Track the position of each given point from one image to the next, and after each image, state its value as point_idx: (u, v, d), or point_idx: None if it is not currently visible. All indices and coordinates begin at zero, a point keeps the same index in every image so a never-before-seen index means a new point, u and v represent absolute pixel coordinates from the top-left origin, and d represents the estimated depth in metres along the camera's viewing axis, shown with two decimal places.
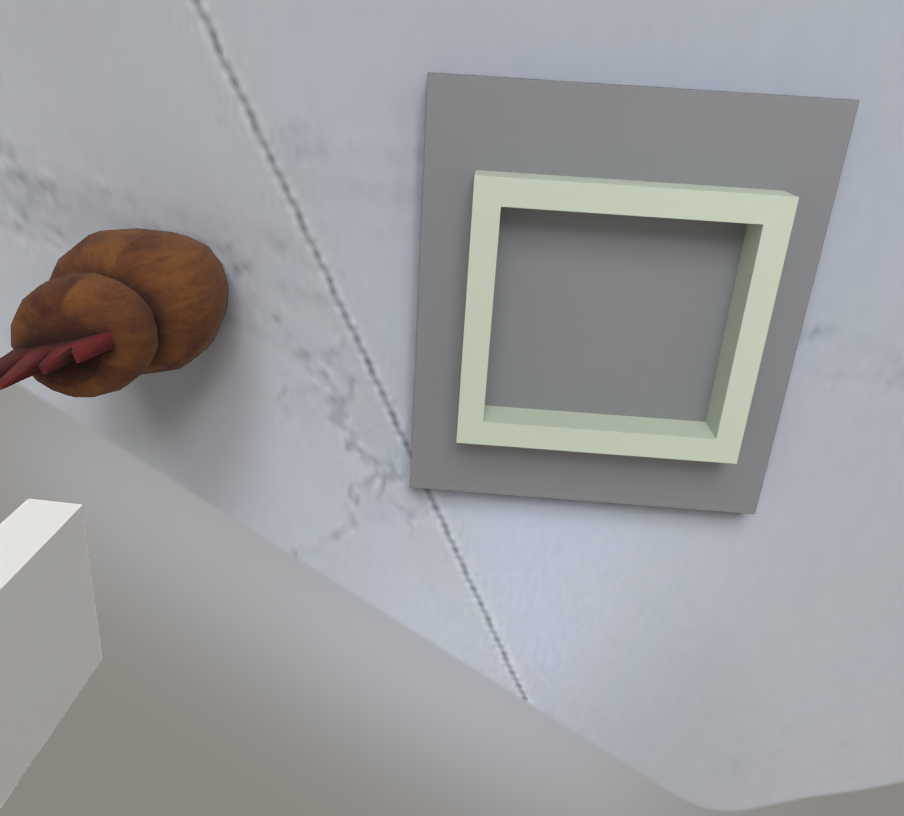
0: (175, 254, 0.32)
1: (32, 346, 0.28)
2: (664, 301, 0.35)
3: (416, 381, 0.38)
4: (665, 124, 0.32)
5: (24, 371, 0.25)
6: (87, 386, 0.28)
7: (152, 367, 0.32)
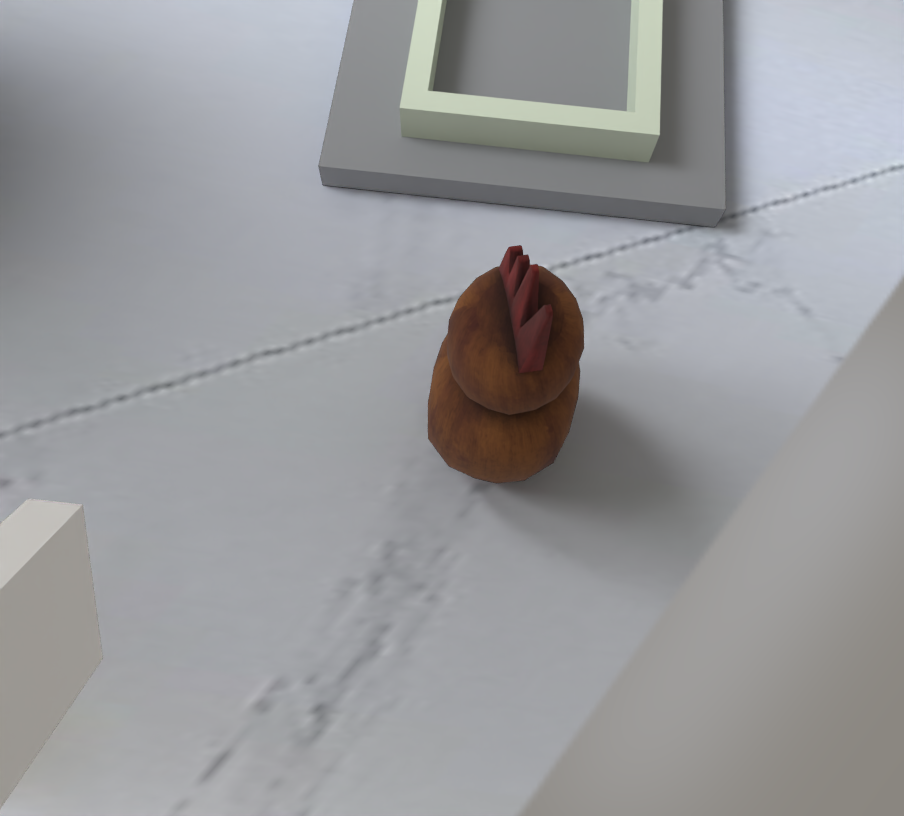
0: None
1: (515, 344, 0.24)
2: (521, 10, 0.41)
3: (602, 195, 0.37)
4: (378, 13, 0.41)
5: None
6: (564, 301, 0.24)
7: None
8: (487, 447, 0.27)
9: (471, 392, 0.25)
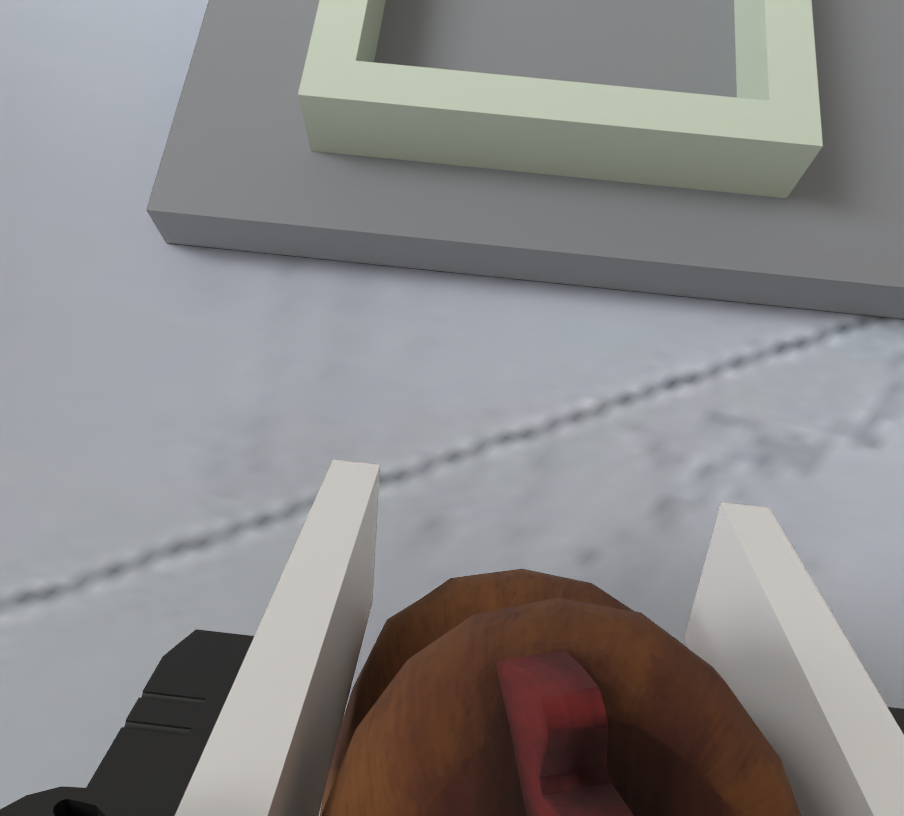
0: (375, 644, 0.12)
1: None
2: None
3: (701, 263, 0.19)
4: None
5: None
6: None
7: None
8: None
9: None
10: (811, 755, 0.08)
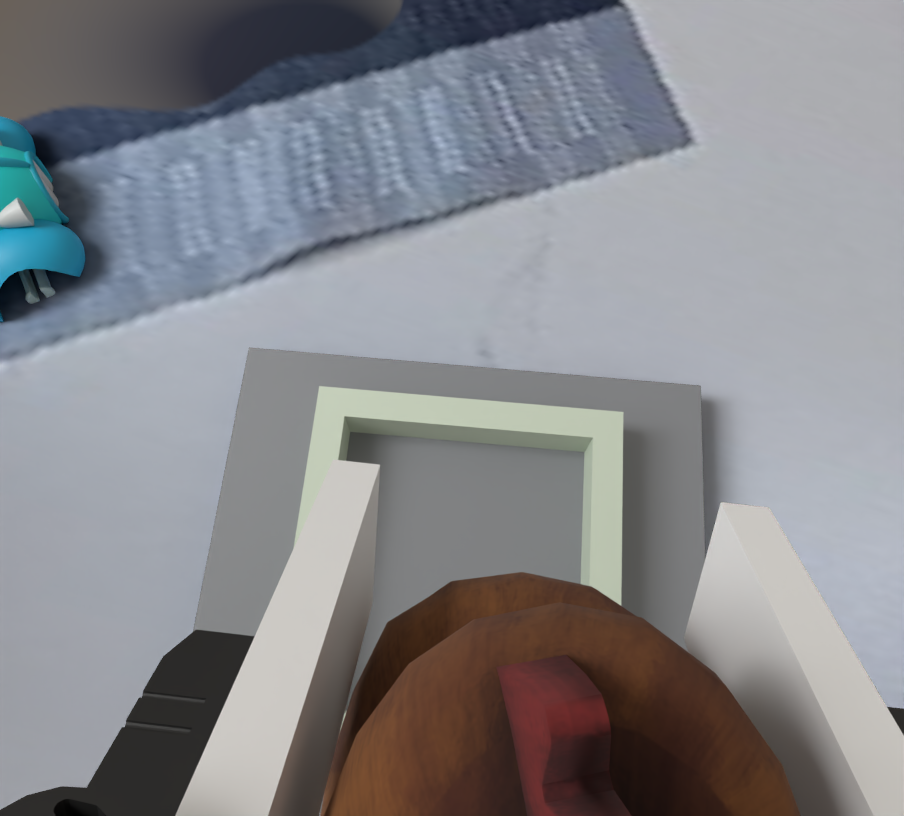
0: (375, 646, 0.12)
1: None
2: (439, 509, 0.31)
3: None
4: (249, 523, 0.31)
5: None
6: None
7: None
8: None
9: None
10: (811, 755, 0.08)
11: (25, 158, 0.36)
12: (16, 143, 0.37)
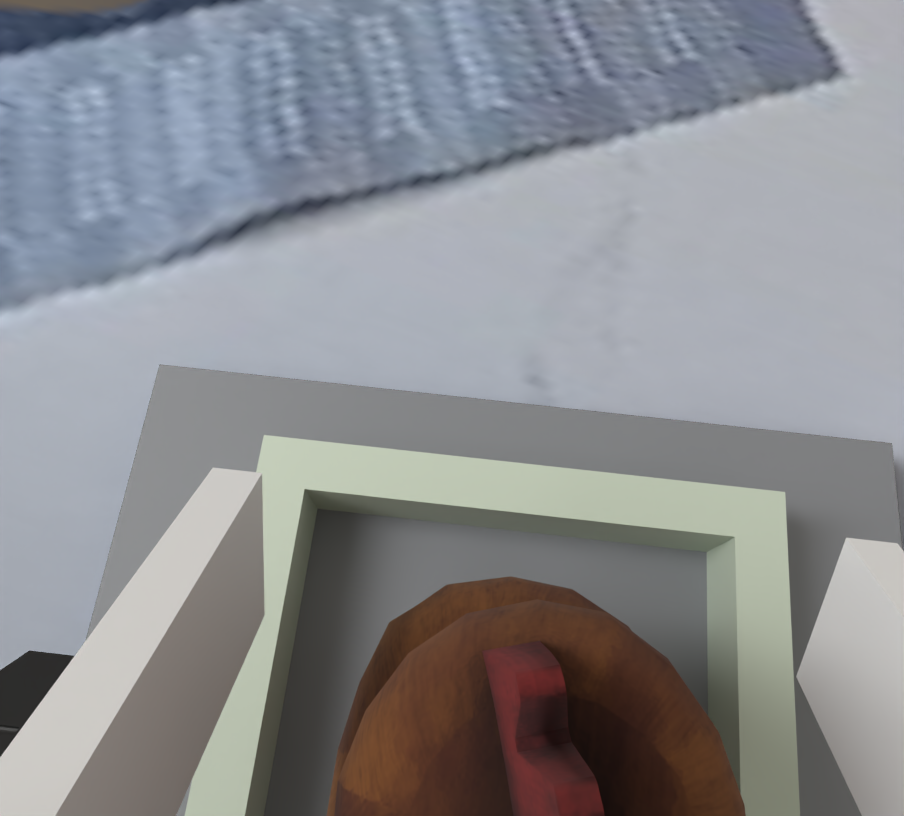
0: (379, 644, 0.14)
1: None
2: None
3: None
4: None
5: None
6: (696, 783, 0.07)
7: None
8: None
9: None
10: None
11: None
12: None
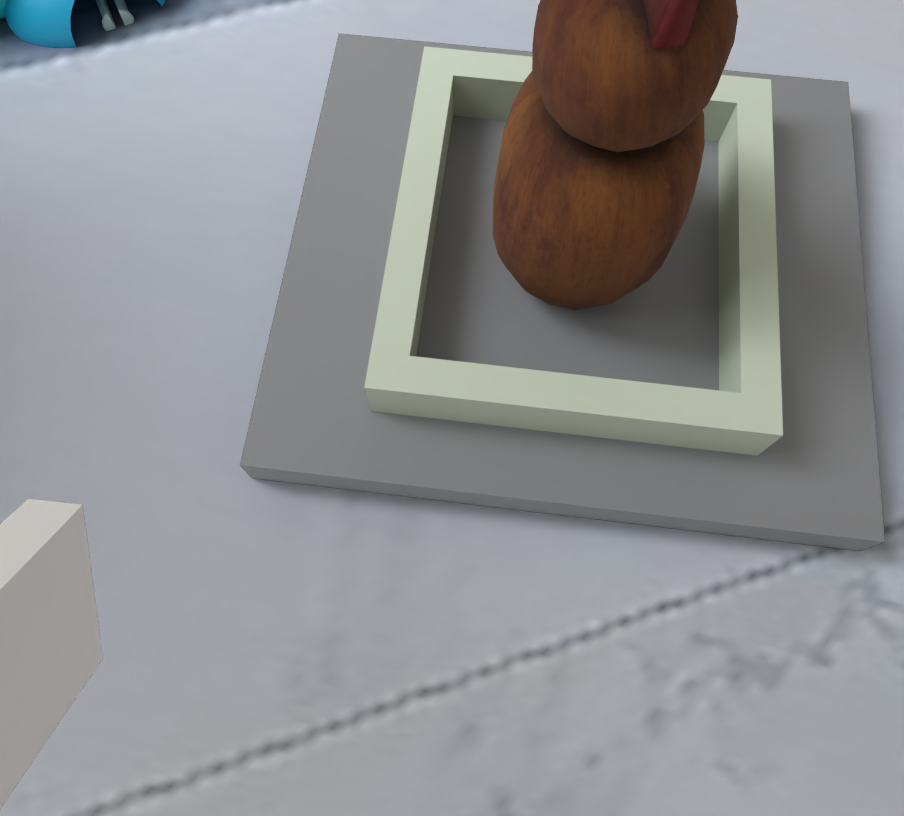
0: None
1: (644, 8, 0.16)
2: None
3: (686, 515, 0.24)
4: (340, 200, 0.28)
5: None
6: None
7: None
8: (584, 213, 0.20)
9: (572, 104, 0.17)
10: None
11: None
12: None
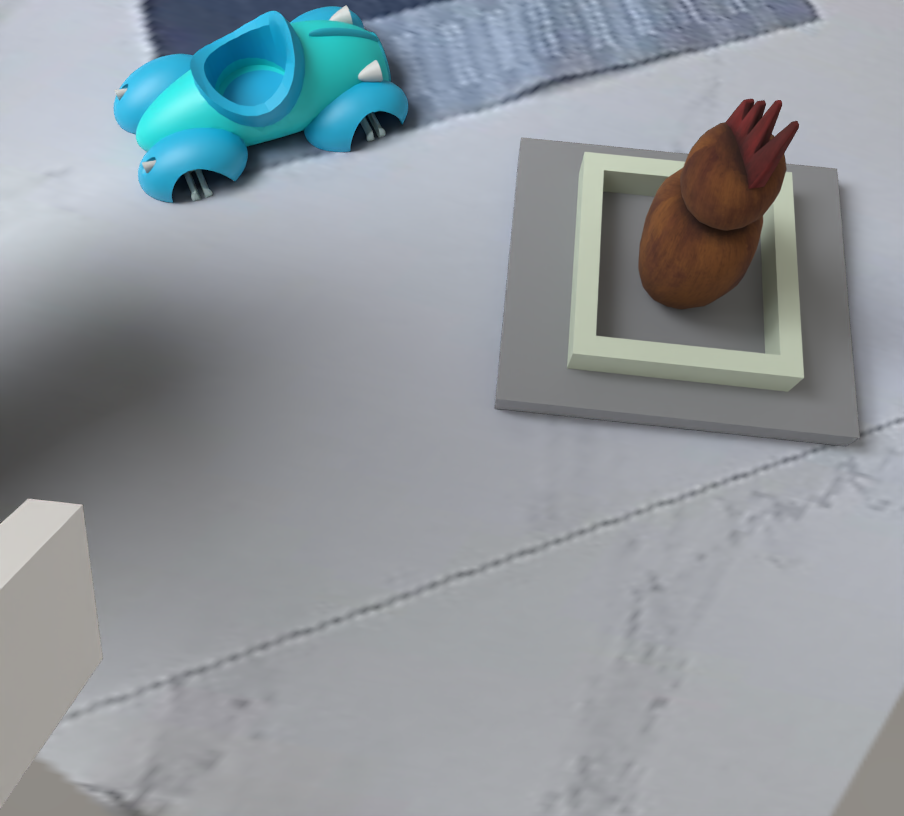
0: (659, 189, 0.41)
1: (745, 169, 0.34)
2: None
3: (749, 424, 0.42)
4: (535, 244, 0.46)
5: None
6: None
7: None
8: (704, 260, 0.38)
9: (705, 210, 0.36)
10: None
11: (373, 35, 0.50)
12: None
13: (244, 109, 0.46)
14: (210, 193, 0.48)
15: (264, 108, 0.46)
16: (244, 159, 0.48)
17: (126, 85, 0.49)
